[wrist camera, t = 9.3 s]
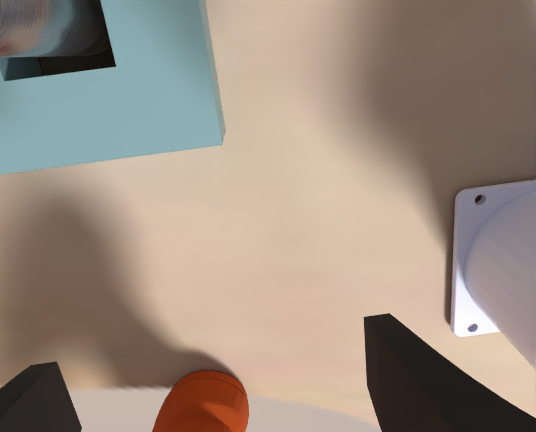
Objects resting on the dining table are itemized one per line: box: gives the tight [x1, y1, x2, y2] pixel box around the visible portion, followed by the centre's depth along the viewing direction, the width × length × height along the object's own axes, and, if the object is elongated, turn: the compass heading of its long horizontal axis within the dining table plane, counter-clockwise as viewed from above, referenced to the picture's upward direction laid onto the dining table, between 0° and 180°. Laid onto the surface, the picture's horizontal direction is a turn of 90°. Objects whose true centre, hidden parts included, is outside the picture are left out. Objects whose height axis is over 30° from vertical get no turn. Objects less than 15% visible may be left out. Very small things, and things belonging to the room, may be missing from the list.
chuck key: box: [0, 0, 111, 57], centre depth 12 cm, size 3×3×10 cm
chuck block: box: [0, 0, 225, 174], centre depth 15 cm, size 10×10×3 cm
